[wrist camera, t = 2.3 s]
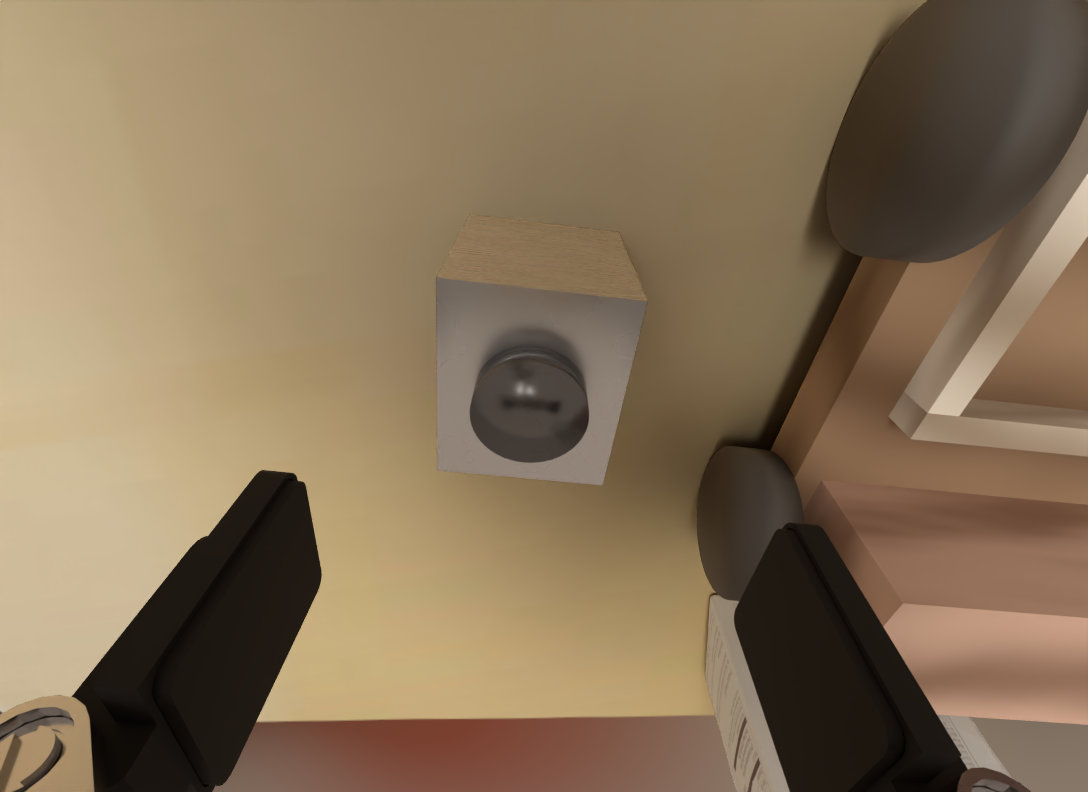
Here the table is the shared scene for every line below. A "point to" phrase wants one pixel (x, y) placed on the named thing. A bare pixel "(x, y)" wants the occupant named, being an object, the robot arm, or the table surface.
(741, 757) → the supplement box
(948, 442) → the chassis
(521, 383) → the block with dome knob
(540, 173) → the table surface
